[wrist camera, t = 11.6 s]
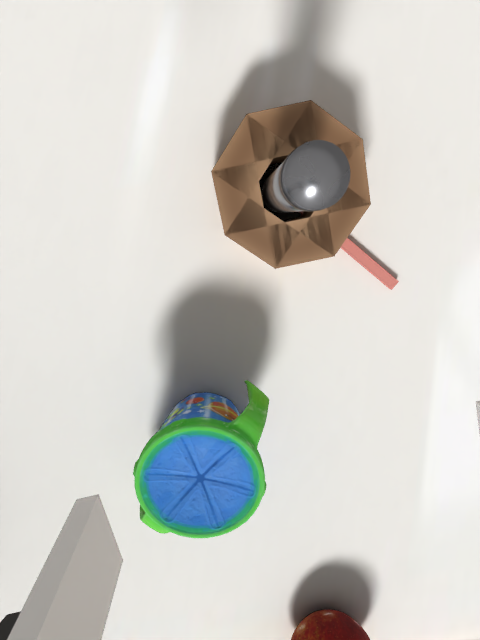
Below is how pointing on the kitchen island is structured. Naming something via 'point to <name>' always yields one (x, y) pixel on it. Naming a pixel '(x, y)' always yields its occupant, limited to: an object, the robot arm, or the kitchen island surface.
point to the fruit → (329, 627)
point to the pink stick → (368, 263)
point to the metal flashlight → (308, 179)
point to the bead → (273, 147)
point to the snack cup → (203, 466)
